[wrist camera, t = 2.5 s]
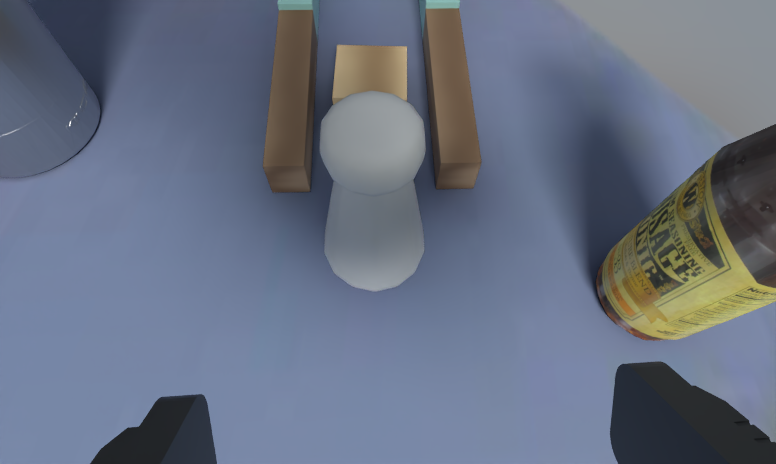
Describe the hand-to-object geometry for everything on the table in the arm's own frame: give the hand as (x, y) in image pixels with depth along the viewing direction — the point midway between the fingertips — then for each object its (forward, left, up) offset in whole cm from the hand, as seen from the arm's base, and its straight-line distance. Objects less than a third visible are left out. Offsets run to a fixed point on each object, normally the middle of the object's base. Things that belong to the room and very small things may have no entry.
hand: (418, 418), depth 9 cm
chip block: (-1, +24, -18) cm, 30 cm away
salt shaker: (-1, +11, -18) cm, 21 cm away
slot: (-1, +23, -17) cm, 29 cm away
